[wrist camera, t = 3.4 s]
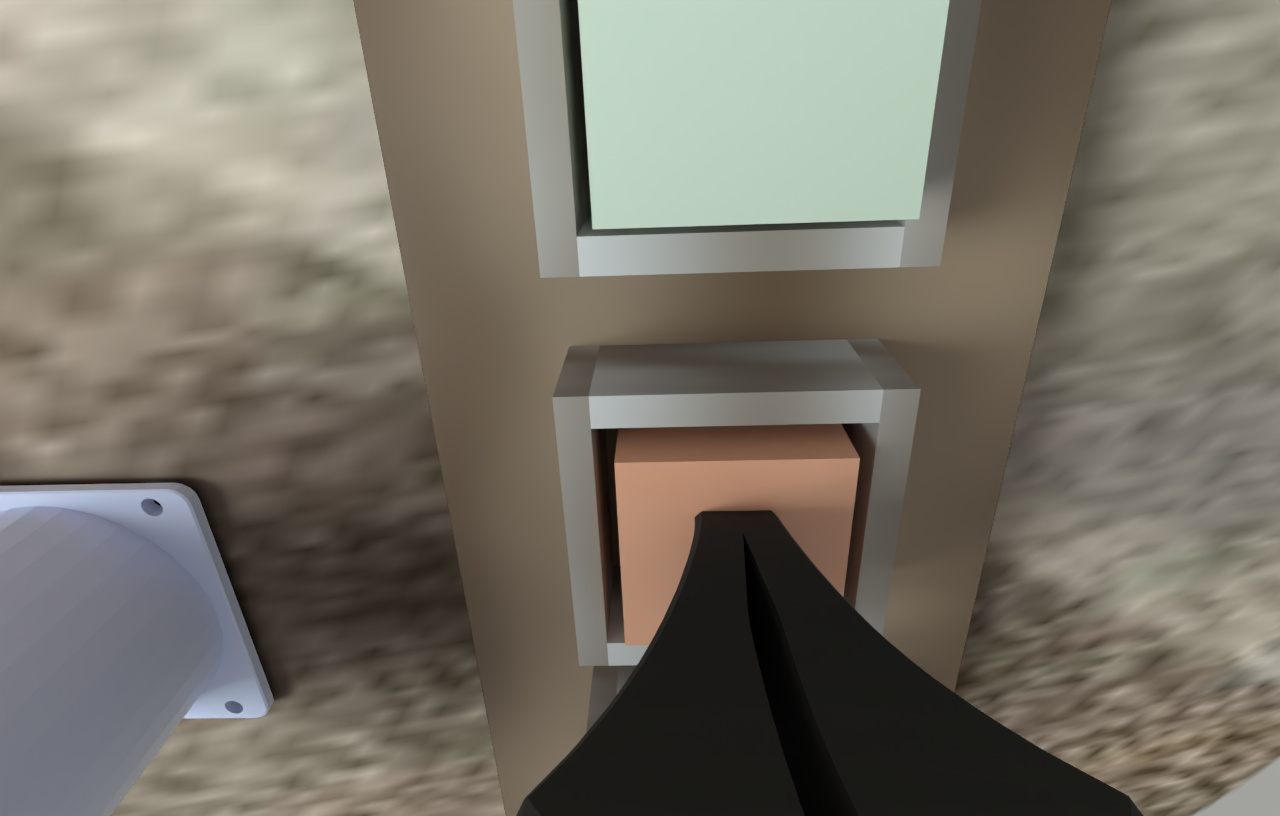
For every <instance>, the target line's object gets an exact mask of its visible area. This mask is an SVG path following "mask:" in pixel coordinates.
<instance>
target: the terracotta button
mask: <svg viewBox="0 0 1280 816" xmlns="http://www.w3.org/2000/svg"><path fill="white" fill-rule="evenodd" d="M859 463H860V457H859V455H858V454H857V452H856V450H855V448H854V446H853V444H852V443H851V441H850V439H849V437H848V435H847V433H846V431H845V430H844V428H843V426H842V424H794V425H746V426H699V427H651V428H618V435H617V444H616V452H615V461H614V466H615V483H616V500H617V517H618V533H619V550H620V567H621V584H622V601H623V618H624V634H625V646H639V645H649V644H650V643H651V641H652V639H653V637H654V636H655V634H656V632H657V630H658V628H659V626H660V624H661V622H662V620H663V618H664V616H665V614H666V612H667V609H668V607H669V605H670V603H671V601H672V598H673V596H674V594H675V592H676V590H677V587H678V585H679V582H680V579H681V576H682V574H683V571H684V568H685V565H686V562H687V559H688V556H689V552H690V549H691V545H692V541H693V536H694V529H695V516H697V515H698V514H699V513H700V512H701V511H757V510H771V511H772V512H774V513H775V514H776V515H777V517H778V518H779V519H780V521H781V522H782V524H783V525H784V526H785V528H786V529H787V531H788V532H789V533H790V535H791V536H792V537H793V538H794V540H795V541H796V542H797V544H798V545H799V546H800V547H801V549H802V550H803V551H804V553H805V554H806V555H807V556H808V558H809V559H810V560H811V561H812V562H813V564H814V565H815V566H816V567H817V568H818V569H819V571H820V572H821V573H822V574H823V575H824V576H825V577H826V578H827V580H828V581H829V582H830V583H831V584H832V585H833V586H834V588H835V589H836V590H837V591H838V592H839V593H840V594H841V595H842V596H844V588H845V579H846V571H847V563H848V554H849V546H850V538H851V529H852V521H853V513H854V504H855V496H856V488H857V479H858V471H859Z"/></svg>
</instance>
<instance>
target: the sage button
mask: <svg viewBox="0 0 1280 816" xmlns="http://www.w3.org/2000/svg"><path fill="white" fill-rule="evenodd" d="M948 8H949V0H578V12H579V27H580V43H581V58H582V74H583V89H584V105H585V120H586V136H587V151H588V167H589V182H590V198H591V213H592V229H622V228H654V227H686V226H718V225H749V224H781V223H813V222H844V221H876V220H908V219H919V217H920V210H921V202H922V195H923V188H924V181H925V173H926V166H927V159H928V152H929V145H930V137H931V130H932V123H933V116H934V109H935V101H936V94H937V87H938V80H939V73H940V65H941V58H942V51H943V44H944V36H945V29H946V22H947V15H948Z"/></svg>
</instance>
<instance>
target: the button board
mask: <svg viewBox="0 0 1280 816" xmlns="http://www.w3.org/2000/svg"><path fill="white" fill-rule="evenodd" d="M353 1H354V6H355V12H356V17H357V22H358V28H359V33H360V38H361V44H362V49H363V54H364V60H365V65H366V70H367V76H368V81H369V86H370V92H371V97H372V102H373V108H374V113H375V119H376V124H377V129H378V135H379V140H380V145H381V151H382V156H383V161H384V167H385V172H386V177H387V183H388V188H389V193H390V199H391V204H392V209H393V215H394V220H395V226H396V231H397V236H398V242H399V247H400V252H401V258H402V263H403V268H404V274H405V279H406V284H407V290H408V295H409V300H410V306H411V311H412V316H413V322H414V327H415V333H416V338H417V343H418V349H419V354H420V359H421V365H422V370H423V375H424V381H425V386H426V391H427V397H428V402H429V407H430V413H431V418H432V423H433V429H434V434H435V440H436V445H437V450H438V456H439V461H440V466H441V472H442V477H443V482H444V488H445V493H446V498H447V504H448V509H449V514H450V520H451V525H452V530H453V536H454V541H455V546H456V552H457V557H458V563H459V568H460V573H461V579H462V584H463V589H464V595H465V600H466V605H467V611H468V616H469V621H470V627H471V632H472V637H473V643H474V648H475V653H476V659H477V664H478V670H479V675H480V680H481V686H482V691H483V696H484V702H485V707H486V712H487V718H488V723H489V728H490V734H491V739H492V744H493V750H494V755H495V760H496V766H497V771H498V777H499V782H500V787H501V793H502V798H503V803H504V809H505V814H506V816H516V815H517V813H518V811H519V809H520V807H521V805H522V802H523V800H524V799H525V797H526V796H527V795H528V794H529V793H530V792H531V791H532V790H533V789H534V788H535V787H536V786H537V785H538V784H539V783H540V782H541V781H542V780H543V779H544V778H545V777H546V776H547V775H548V774H549V773H550V772H551V771H552V770H553V769H554V768H555V767H556V766H557V765H558V764H559V763H560V762H561V761H562V760H563V759H564V758H565V757H566V756H567V755H568V754H569V753H570V752H571V750H572V749H573V748H574V747H575V746H576V745H577V744H578V743H579V741H580V740H581V739H582V738H583V737H584V735H585V734H586V733H587V732H588V730H589V729H590V728H591V727H592V726H593V724H594V723H595V722H596V721H597V720H598V718H599V717H600V716H601V715H602V713H603V712H604V711H605V710H606V709H607V707H608V706H609V705H610V703H611V702H612V701H613V699H614V698H615V697H616V695H617V694H618V693H619V691H620V690H621V688H622V687H623V685H624V684H625V682H626V681H627V679H628V678H629V676H630V675H631V673H632V672H633V670H634V669H635V667H636V666H637V664H638V663H639V661H640V660H641V658H642V656H643V655H644V653H645V651H646V650H647V648H648V646H649V645H639V646H625V634H624V618H623V601H622V584H621V567H620V550H619V533H618V517H617V500H616V483H615V466H614V461H615V452H616V444H617V435H618V428H651V427H699V426H746V425H794V424H842V426H843V428H844V430H845V431H846V433H847V435H848V437H849V439H850V441H851V443H852V444H853V446H854V448H855V450H856V452H857V454H858V455H859V457H860V463H859V471H858V479H857V488H856V496H855V504H854V513H853V521H852V529H851V538H850V546H849V554H848V563H847V571H846V579H845V588H844V596H843V597H844V598H845V599H846V601H847V602H848V603H849V604H850V605H851V606H852V607H853V608H854V609H855V610H856V611H857V612H858V613H859V614H860V615H861V616H862V617H863V618H864V619H865V620H866V621H867V622H868V623H869V624H870V625H871V626H872V627H874V628H875V629H876V630H877V631H878V632H879V633H880V634H881V635H882V636H883V637H884V638H885V639H886V640H888V641H889V642H890V643H891V644H892V645H894V646H895V647H896V648H897V649H898V650H899V651H901V652H902V653H903V654H904V655H905V656H906V657H908V658H909V659H910V660H911V661H912V662H914V663H915V664H916V665H918V666H919V667H920V668H921V669H923V670H924V671H925V672H927V673H928V674H929V675H930V676H932V677H933V678H934V679H936V680H937V681H939V682H940V683H941V684H943V685H944V686H946V687H947V688H948V689H950V690H951V691H952V692H954V691H955V687H956V683H957V678H958V674H959V669H960V665H961V661H962V656H963V652H964V647H965V643H966V639H967V634H968V630H969V625H970V621H971V617H972V612H973V608H974V603H975V599H976V595H977V590H978V586H979V581H980V577H981V573H982V568H983V564H984V559H985V555H986V551H987V546H988V542H989V537H990V533H991V529H992V524H993V520H994V515H995V511H996V507H997V502H998V498H999V493H1000V489H1001V485H1002V480H1003V476H1004V471H1005V467H1006V462H1007V458H1008V454H1009V449H1010V445H1011V440H1012V436H1013V432H1014V427H1015V423H1016V418H1017V414H1018V410H1019V405H1020V401H1021V396H1022V392H1023V388H1024V383H1025V379H1026V374H1027V370H1028V366H1029V361H1030V357H1031V352H1032V348H1033V344H1034V339H1035V335H1036V330H1037V326H1038V322H1039V317H1040V313H1041V308H1042V304H1043V300H1044V295H1045V291H1046V286H1047V282H1048V278H1049V273H1050V269H1051V264H1052V260H1053V256H1054V251H1055V247H1056V242H1057V238H1058V234H1059V229H1060V225H1061V220H1062V216H1063V212H1064V207H1065V203H1066V198H1067V194H1068V190H1069V185H1070V181H1071V176H1072V172H1073V168H1074V163H1075V159H1076V154H1077V150H1078V146H1079V141H1080V137H1081V132H1082V128H1083V124H1084V119H1085V115H1086V110H1087V106H1088V102H1089V97H1090V93H1091V88H1092V84H1093V79H1094V75H1095V71H1096V66H1097V62H1098V57H1099V53H1100V49H1101V44H1102V40H1103V35H1104V31H1105V27H1106V22H1107V18H1108V13H1109V9H1110V5H1111V0H949V8H948V15H947V22H946V29H945V36H944V44H943V51H942V58H941V65H940V73H939V80H938V87H937V94H936V101H935V109H934V116H933V123H932V130H931V137H930V145H929V152H928V159H927V166H926V173H925V181H924V188H923V195H922V202H921V210H920V217H919V219H908V220H876V221H844V222H813V223H781V224H749V225H718V226H686V227H654V228H622V229H592V213H591V198H590V182H589V167H588V151H587V136H586V120H585V105H584V89H583V74H582V58H581V43H580V27H579V12H578V0H353Z"/></svg>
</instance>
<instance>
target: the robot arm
mask: <svg viewBox="0 0 1280 816" xmlns="http://www.w3.org/2000/svg"><path fill="white" fill-rule="evenodd" d="M153 499H154V500H156V501H157V502H159V503H160V505H161V506H162V507H161V506H159V505H157V504H156V503H155V502H154V501H153ZM273 702H274V699H273V695H272V692H271V690H270V687H269V684H268V682H267V679H266V676H265V674H264V671H263V668H262V666H261V663H260V660H259V657H258V655H257V652H256V649H255V647H254V644H253V641H252V639H251V636H250V633H249V631H248V628H247V625H246V623H245V620H244V617H243V615H242V612H241V609H240V606H239V604H238V601H237V598H236V596H235V593H234V590H233V588H232V585H231V582H230V580H229V577H228V574H227V572H226V569H225V566H224V564H223V561H222V558H221V555H220V553H219V550H218V547H217V545H216V542H215V539H214V537H213V534H212V531H211V529H210V526H209V523H208V521H207V518H206V515H205V513H204V510H203V507H202V504H201V502H200V499H199V497H198V496H197V494H196V493H195V492H194V491H193V490H192V489H191V488H190V487H188V486H185V485H183V484H180V483H126V484H73V485H19V486H0V816H110V815H111V814H112V813H113V811H114V810H115V809H116V807H117V806H118V805H119V803H120V802H121V801H122V799H123V798H124V797H125V795H126V794H127V793H128V791H129V790H130V789H131V787H132V786H133V785H134V783H135V782H136V781H137V779H138V778H139V777H140V775H141V774H142V773H143V771H144V770H145V769H146V767H147V766H148V765H149V763H150V762H151V761H152V759H153V758H154V757H155V755H156V754H157V753H158V751H159V750H160V749H161V747H162V746H163V745H164V743H165V742H166V741H167V739H168V738H169V736H170V735H171V734H172V732H173V731H174V730H175V728H176V727H177V726H178V724H179V723H180V722H181V720H182V719H183V718H257V717H262V716H264V715H266V714H267V712H268V711H269V709H270V708H271V706H272V704H273ZM516 816H1143V815H1142V813H1141V812H1140V811H1139V810H1138V808H1137V807H1136V806H1135V804H1134V803H1133V801H1132V800H1131V799H1130V798H1129V796H1127V795H1125V794H1124V793H1122V792H1120V791H1118V790H1116V789H1114V788H1112V787H1111V786H1109V785H1107V784H1105V783H1103V782H1101V781H1099V780H1098V779H1096V778H1094V777H1092V776H1090V775H1088V774H1086V773H1085V772H1083V771H1081V770H1079V769H1077V768H1075V767H1073V766H1071V765H1070V764H1068V763H1066V762H1064V761H1062V760H1060V759H1058V758H1057V757H1055V756H1053V755H1051V754H1049V753H1047V752H1046V751H1044V750H1042V749H1040V748H1039V747H1037V746H1035V745H1034V744H1032V743H1031V742H1029V741H1027V740H1026V739H1024V738H1022V737H1021V736H1019V735H1018V734H1016V733H1014V732H1013V731H1011V730H1009V729H1008V728H1006V727H1005V726H1003V725H1001V724H1000V723H998V722H996V721H995V720H993V719H992V718H990V717H989V716H987V715H986V714H984V713H983V712H981V711H980V710H978V709H977V708H975V707H974V706H972V705H971V704H969V703H968V702H966V701H965V700H964V699H962V698H961V697H959V696H958V695H957V694H955V693H954V692H952V691H951V690H950V689H948V688H947V687H946V686H944V685H943V684H941V683H940V682H939V681H937V680H936V679H934V678H933V677H932V676H930V675H929V674H928V673H927V672H925V671H924V670H923V669H921V668H920V667H919V666H918V665H916V664H915V663H914V662H912V661H911V660H910V659H909V658H908V657H906V656H905V655H904V654H903V653H902V652H901V651H899V650H898V649H897V648H896V647H895V646H894V645H892V644H891V643H890V642H889V641H888V640H886V639H885V638H884V637H883V636H882V635H881V634H880V633H879V632H878V631H877V630H876V629H875V628H874V627H872V626H871V625H870V624H869V623H868V622H867V621H866V620H865V619H864V618H863V617H862V616H861V615H860V614H859V613H858V612H857V611H856V610H855V609H854V608H853V607H852V606H851V605H850V604H849V603H848V602H847V601H846V599H845V598H844V597H843V596H842V595H841V594H840V593H839V592H838V591H837V590H836V589H835V588H834V586H833V585H832V584H831V583H830V582H829V581H828V580H827V578H826V577H825V576H824V575H823V574H822V573H821V572H820V571H819V569H818V568H817V567H816V566H815V565H814V564H813V562H812V561H811V560H810V559H809V558H808V556H807V555H806V554H805V553H804V551H803V550H802V549H801V547H800V546H799V545H798V544H797V542H796V541H795V540H794V538H793V537H792V536H791V535H790V533H789V532H788V531H787V529H786V528H785V526H784V525H783V524H782V522H781V521H780V519H779V518H778V517H777V515H776V514H775V513H774V512H772V511H771V510H757V511H701V512H700V513H699V514H698V515H697V516H695V529H694V536H693V541H692V545H691V549H690V552H689V556H688V559H687V562H686V565H685V568H684V571H683V574H682V576H681V579H680V582H679V585H678V587H677V590H676V592H675V594H674V596H673V598H672V601H671V603H670V605H669V607H668V609H667V612H666V614H665V616H664V618H663V620H662V622H661V624H660V626H659V628H658V630H657V632H656V634H655V636H654V637H653V639H652V641H651V643H650V644H649V646H648V648H647V650H646V651H645V653H644V655H643V656H642V658H641V660H640V661H639V663H638V664H637V666H636V667H635V669H634V670H633V672H632V673H631V675H630V676H629V678H628V679H627V681H626V682H625V684H624V685H623V687H622V688H621V690H620V691H619V693H618V694H617V695H616V697H615V698H614V699H613V701H612V702H611V703H610V705H609V706H608V707H607V709H606V710H605V711H604V712H603V713H602V715H601V716H600V717H599V718H598V720H597V721H596V722H595V723H594V724H593V726H592V727H591V728H590V729H589V730H588V732H587V733H586V734H585V735H584V737H583V738H582V739H581V740H580V741H579V743H578V744H577V745H576V746H575V747H574V748H573V749H572V750H571V752H570V753H569V754H568V755H567V756H566V757H565V758H564V759H563V760H562V761H561V762H560V763H559V764H558V765H557V766H556V767H555V768H554V769H553V770H552V771H551V772H550V773H549V774H548V775H547V776H546V777H545V778H544V779H543V780H542V781H541V782H540V783H539V784H538V785H537V786H536V787H535V788H534V789H533V790H532V791H531V792H530V793H529V794H528V795H527V796H526V797H525V799H524V800H523V802H522V805H521V807H520V809H519V811H518V813H517V815H516Z"/></svg>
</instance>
